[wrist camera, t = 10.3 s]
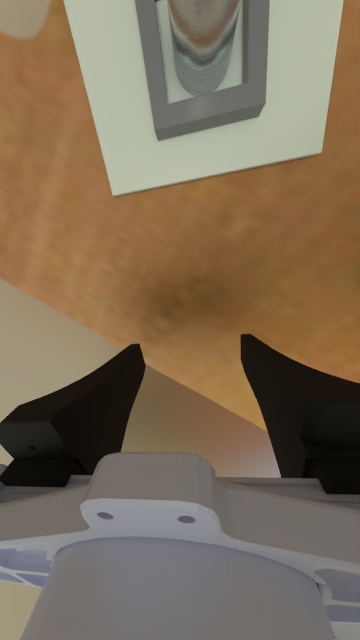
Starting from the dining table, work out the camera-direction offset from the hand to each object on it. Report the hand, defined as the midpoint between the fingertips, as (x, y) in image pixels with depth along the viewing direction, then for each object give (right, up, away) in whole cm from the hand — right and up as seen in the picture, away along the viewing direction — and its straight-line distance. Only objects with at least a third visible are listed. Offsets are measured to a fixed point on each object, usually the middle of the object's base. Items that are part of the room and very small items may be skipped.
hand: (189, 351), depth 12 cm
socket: (+1, +21, 0) cm, 21 cm away
